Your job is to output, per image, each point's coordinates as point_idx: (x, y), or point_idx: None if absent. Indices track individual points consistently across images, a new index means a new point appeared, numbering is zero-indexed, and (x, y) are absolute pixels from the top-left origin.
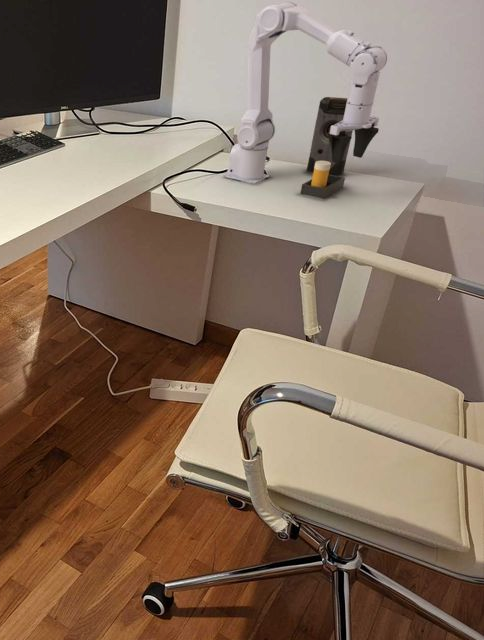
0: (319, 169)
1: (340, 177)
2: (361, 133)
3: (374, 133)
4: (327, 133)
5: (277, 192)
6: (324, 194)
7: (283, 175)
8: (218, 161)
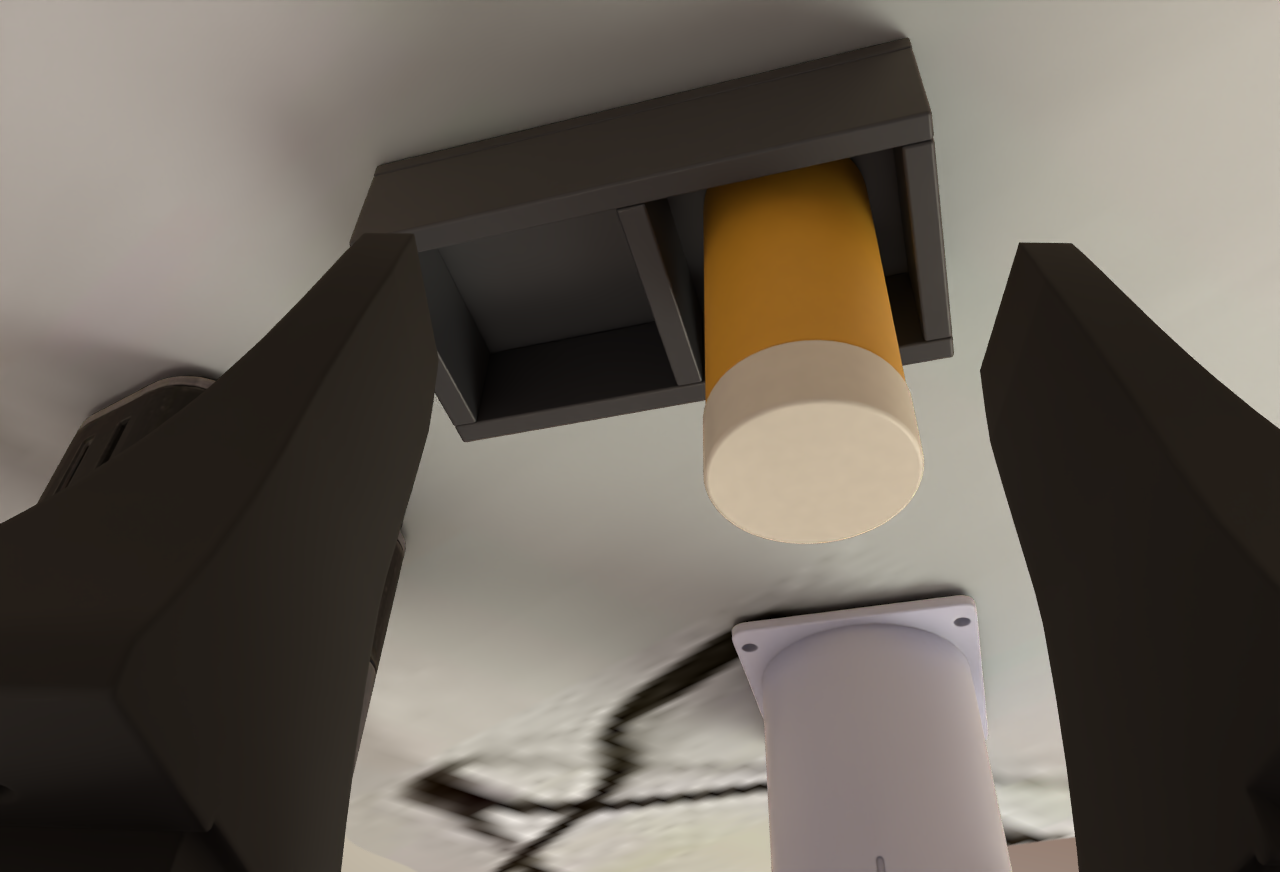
0: (911, 400)
1: None
2: (301, 735)
3: (41, 586)
4: None
5: None
6: (892, 75)
7: (599, 599)
8: (734, 852)
